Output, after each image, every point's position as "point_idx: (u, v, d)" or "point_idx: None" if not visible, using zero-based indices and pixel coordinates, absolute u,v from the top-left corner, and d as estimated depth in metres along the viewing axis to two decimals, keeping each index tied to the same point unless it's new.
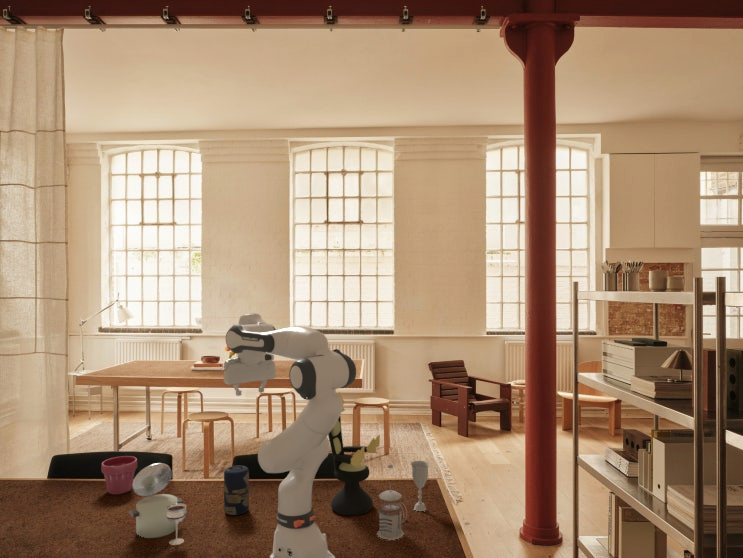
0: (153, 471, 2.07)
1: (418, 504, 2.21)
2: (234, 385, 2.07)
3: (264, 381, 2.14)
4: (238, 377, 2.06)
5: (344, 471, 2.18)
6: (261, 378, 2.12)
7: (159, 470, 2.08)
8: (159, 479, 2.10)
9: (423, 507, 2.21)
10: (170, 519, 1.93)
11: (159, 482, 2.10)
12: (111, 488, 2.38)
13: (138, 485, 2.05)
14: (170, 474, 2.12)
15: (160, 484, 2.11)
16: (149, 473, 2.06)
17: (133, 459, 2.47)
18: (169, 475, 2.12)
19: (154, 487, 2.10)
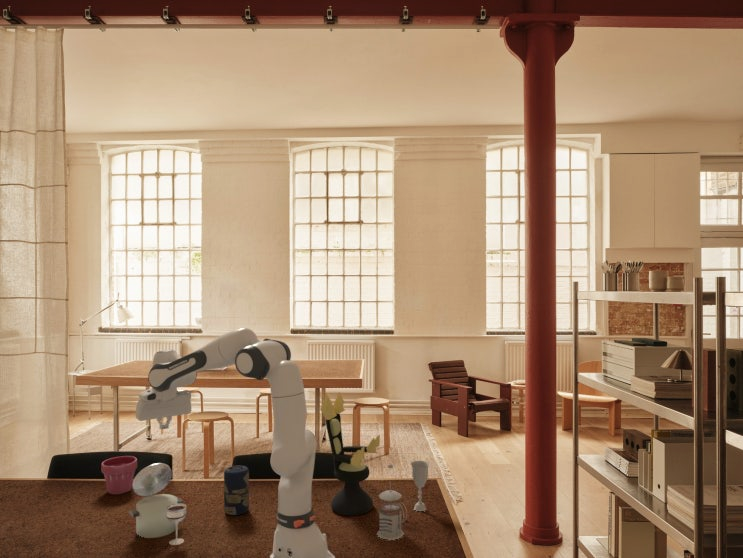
0: (153, 471, 2.07)
1: (418, 504, 2.21)
2: None
3: None
4: None
5: (344, 471, 2.18)
6: None
7: (159, 470, 2.08)
8: (159, 479, 2.10)
9: (423, 507, 2.21)
10: (170, 519, 1.93)
11: (159, 482, 2.10)
12: (111, 488, 2.38)
13: (138, 485, 2.05)
14: (170, 474, 2.12)
15: (160, 484, 2.11)
16: (149, 473, 2.06)
17: (133, 459, 2.47)
18: (169, 475, 2.12)
19: (154, 487, 2.10)
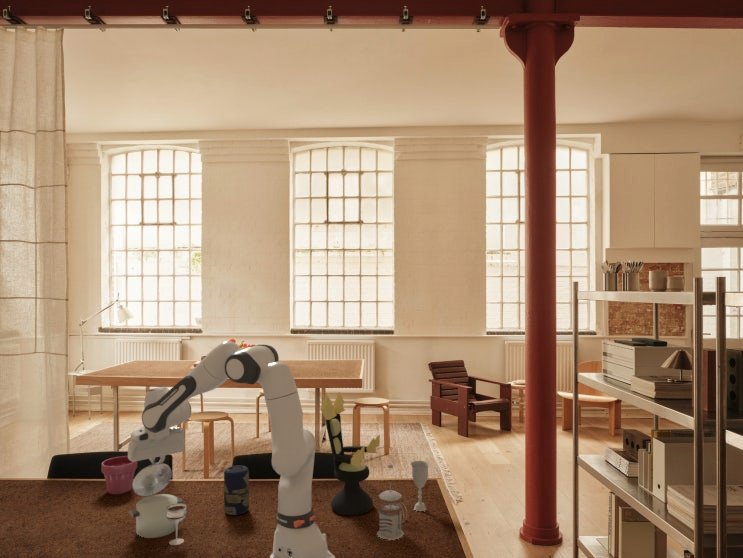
0: (153, 471, 2.07)
1: (418, 504, 2.21)
2: None
3: None
4: None
5: (344, 471, 2.18)
6: None
7: (159, 470, 2.08)
8: (159, 479, 2.10)
9: (423, 507, 2.21)
10: (170, 519, 1.93)
11: (159, 482, 2.10)
12: (111, 488, 2.38)
13: (138, 485, 2.05)
14: (170, 474, 2.12)
15: (160, 484, 2.11)
16: (149, 473, 2.06)
17: None
18: (169, 475, 2.12)
19: (154, 487, 2.10)
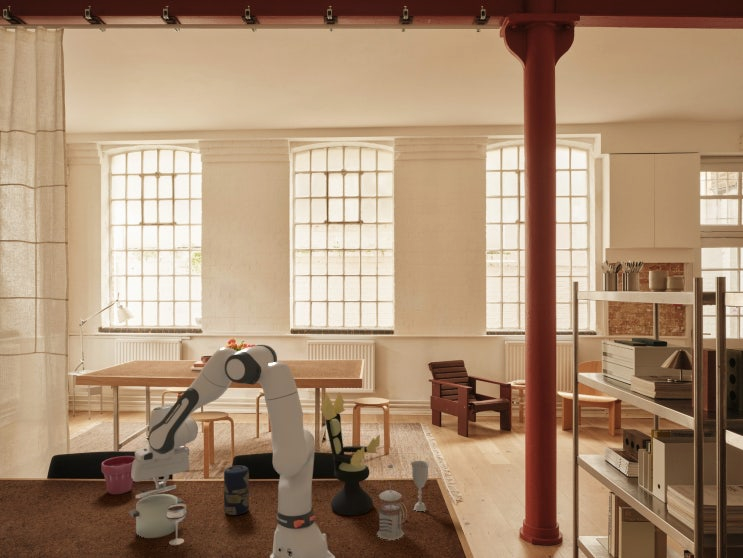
0: (159, 491, 2.02)
1: (418, 504, 2.21)
2: None
3: None
4: None
5: (344, 471, 2.18)
6: None
7: (165, 490, 2.04)
8: (162, 491, 2.07)
9: (423, 507, 2.21)
10: (170, 519, 1.93)
11: (162, 491, 2.09)
12: (111, 488, 2.38)
13: (141, 496, 2.03)
14: (174, 488, 2.09)
15: (162, 491, 2.10)
16: (154, 492, 2.02)
17: (133, 459, 2.47)
18: (173, 488, 2.09)
19: (156, 493, 2.09)
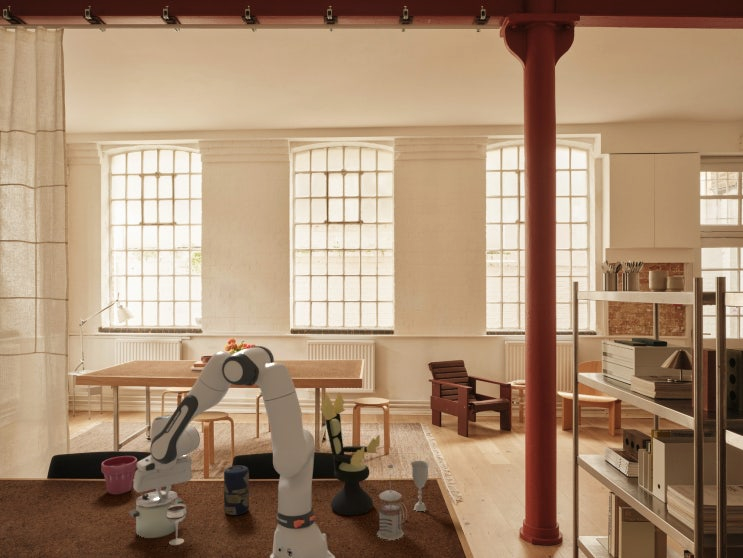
0: None
1: (418, 504, 2.21)
2: None
3: None
4: None
5: (344, 471, 2.18)
6: None
7: None
8: None
9: (423, 507, 2.21)
10: (170, 519, 1.93)
11: None
12: (111, 488, 2.38)
13: None
14: None
15: None
16: None
17: (133, 459, 2.47)
18: None
19: None
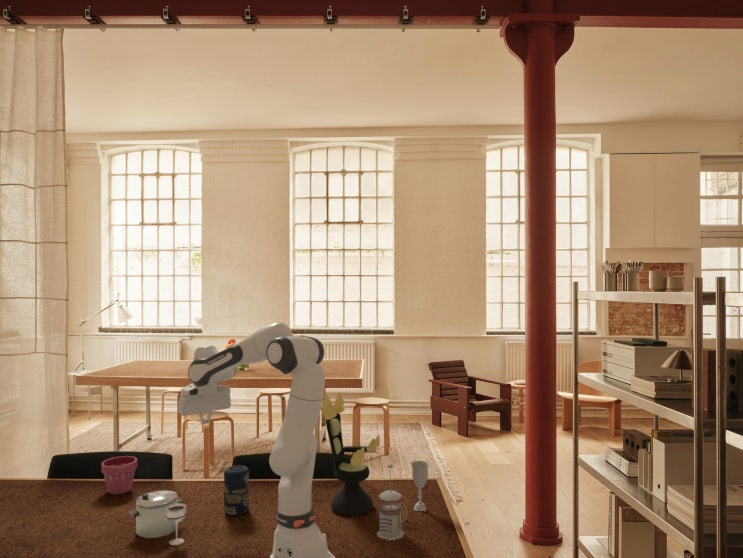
0: None
1: (418, 504, 2.21)
2: None
3: None
4: None
5: (344, 471, 2.18)
6: None
7: None
8: None
9: (423, 507, 2.21)
10: (170, 519, 1.93)
11: None
12: (111, 488, 2.38)
13: None
14: None
15: None
16: None
17: (133, 459, 2.47)
18: None
19: None
